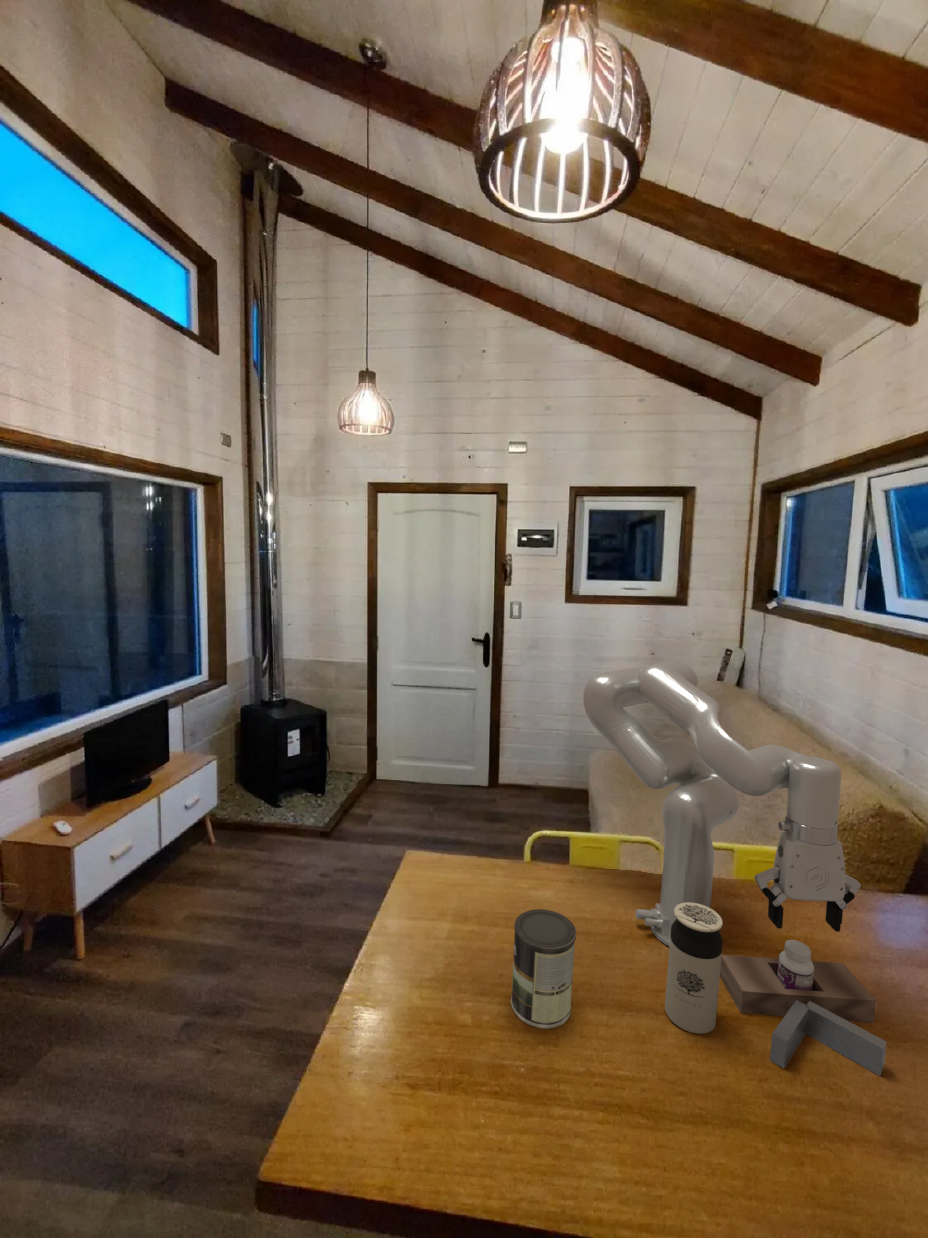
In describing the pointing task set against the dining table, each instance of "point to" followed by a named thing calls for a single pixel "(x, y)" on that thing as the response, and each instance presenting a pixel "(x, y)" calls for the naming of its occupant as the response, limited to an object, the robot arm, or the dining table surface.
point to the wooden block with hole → (766, 995)
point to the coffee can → (543, 968)
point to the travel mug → (694, 967)
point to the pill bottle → (796, 966)
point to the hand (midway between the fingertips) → (804, 925)
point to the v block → (826, 1037)
